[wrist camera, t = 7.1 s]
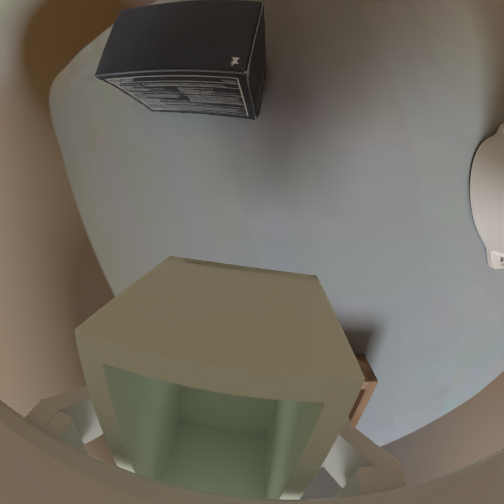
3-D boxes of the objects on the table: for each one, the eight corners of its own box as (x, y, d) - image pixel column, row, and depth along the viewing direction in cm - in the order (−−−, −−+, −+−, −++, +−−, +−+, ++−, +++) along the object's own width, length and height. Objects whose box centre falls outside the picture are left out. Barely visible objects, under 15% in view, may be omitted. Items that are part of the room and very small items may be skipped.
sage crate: (316, 275, 10) (364, 379, 4) (276, 434, 12) (275, 530, 6) (170, 255, 10) (74, 330, 4) (173, 418, 12) (138, 506, 6)
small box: (268, 61, 21) (268, -3, 11) (257, 121, 23) (251, 78, 13) (164, 56, 22) (119, 6, 11) (150, 112, 23) (91, 80, 13)
